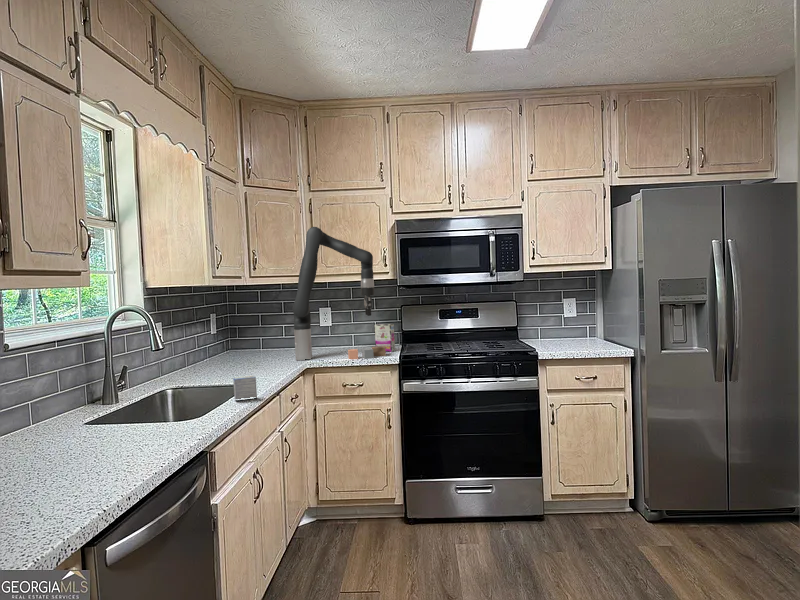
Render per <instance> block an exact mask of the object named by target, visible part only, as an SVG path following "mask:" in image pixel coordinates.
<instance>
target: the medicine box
mask: <svg viewBox="0 0 800 600" xmlns="http://www.w3.org/2000/svg"><path fill="white" fill-rule="evenodd" d="M232 379H233V393H234V400H235V399H241V398H250V397H257V398H258V394H257V393H258V391H257V389H258V388H257V377H256V375H254V374H252V375H244V376H236V377H233V378H232Z"/></svg>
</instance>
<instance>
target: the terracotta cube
mask: <svg viewBox="0 0 800 600" xmlns="http://www.w3.org/2000/svg"><path fill="white" fill-rule="evenodd" d="M358 350H359V349H358V348H355V349H354V348H353V349H352V348H351V349H347V353H348V354H347V355H348V357H347V358H348V360H349V359H351V360H359V351H358Z"/></svg>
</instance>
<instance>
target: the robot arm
mask: <svg viewBox="0 0 800 600" xmlns="http://www.w3.org/2000/svg"><path fill="white" fill-rule="evenodd" d="M305 235H306V236H305V247H304V248H305V249H304V252H303V253H304V254H303V257H302V259H301V264H300V268H299V274H298V281H297V292H296V295H295V299H294V302H293V304H292V313H293V320H294V321H293V322H294V323H293V329H294V330H293V331H294V332H293V333H294V353H295V361H306V360H305V359H310V360H312V359H313V346H312V329H311V326H312V325H311V324H312V322H311V306H310V298H311V293H312V290H313V287H314V284H315V280H316V277H317V271H318V262H319V261H318V258H319V257H318V255H319V250H320V246H323V247H327V248H329V249H332V250H333V251H335V252H337V253H339V254H341V255H344V256H345V257H349V258H351V259H354V260H356V261H358V262H360V267H361V269H360V295H361V296H364V297H363V298H364V299H363V301H364V302H363V305H364V308H365V309H364V310H365V311H364V312H365V313H364V314H365V316H366V315H367V316H369V317H370V316H372V308H373V303H372V301H373V299H372V297H371V296H375V281H374V268H373V267H374V265H373V264H374V257H373V253H372V252H370V251H368V250H366V249H363V248H359V247H358V246H356V245H353V244H351V243H349V242H347V241H344V240H341V239H338V238H335V237H332V236H331V235H328V234H327V233H325V232H324V231H323V230H322V229H321V228H320V227H317V226H312V227H309V228H308V229H307V231H306V234H305ZM311 358H312V359H311Z"/></svg>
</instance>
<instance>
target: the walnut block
mask: <svg viewBox="0 0 800 600" xmlns="http://www.w3.org/2000/svg"><path fill="white" fill-rule="evenodd" d="M371 349H373V355H374V356H379V357H386V356H387V352H386V348H385V347H384V346H377V347H376V346H372V347H371Z"/></svg>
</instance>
